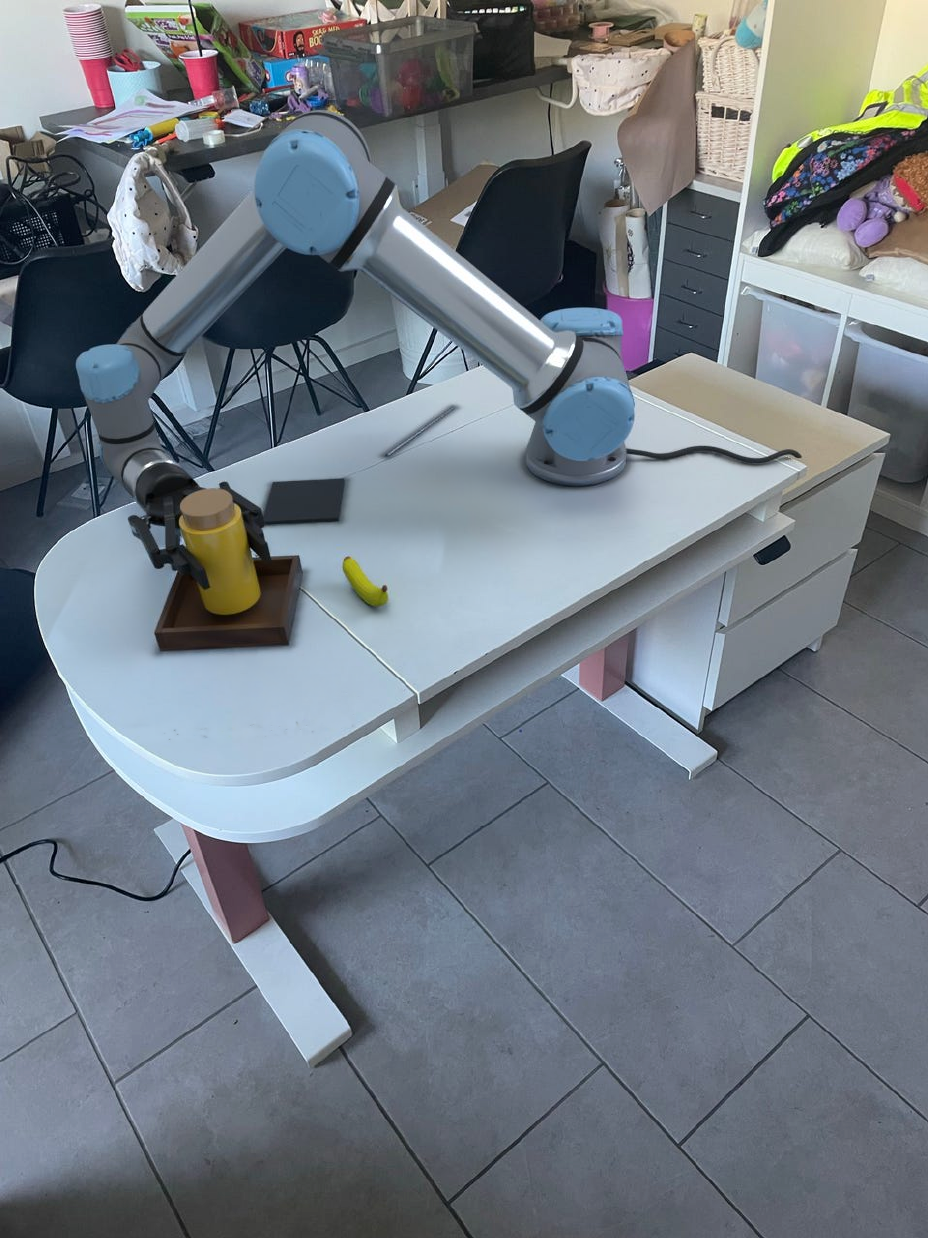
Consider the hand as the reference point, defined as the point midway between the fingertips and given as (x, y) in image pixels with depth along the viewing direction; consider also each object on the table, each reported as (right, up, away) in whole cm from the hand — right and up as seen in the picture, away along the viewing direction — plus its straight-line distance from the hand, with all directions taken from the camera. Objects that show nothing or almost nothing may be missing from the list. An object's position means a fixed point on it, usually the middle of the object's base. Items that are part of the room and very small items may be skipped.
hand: (236, 566), depth 106 cm
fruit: (+15, -4, +10) cm, 18 cm away
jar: (-2, -3, +8) cm, 9 cm away
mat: (+3, +11, +29) cm, 31 cm away
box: (-2, -5, +9) cm, 11 cm away
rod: (+20, +25, +44) cm, 54 cm away
